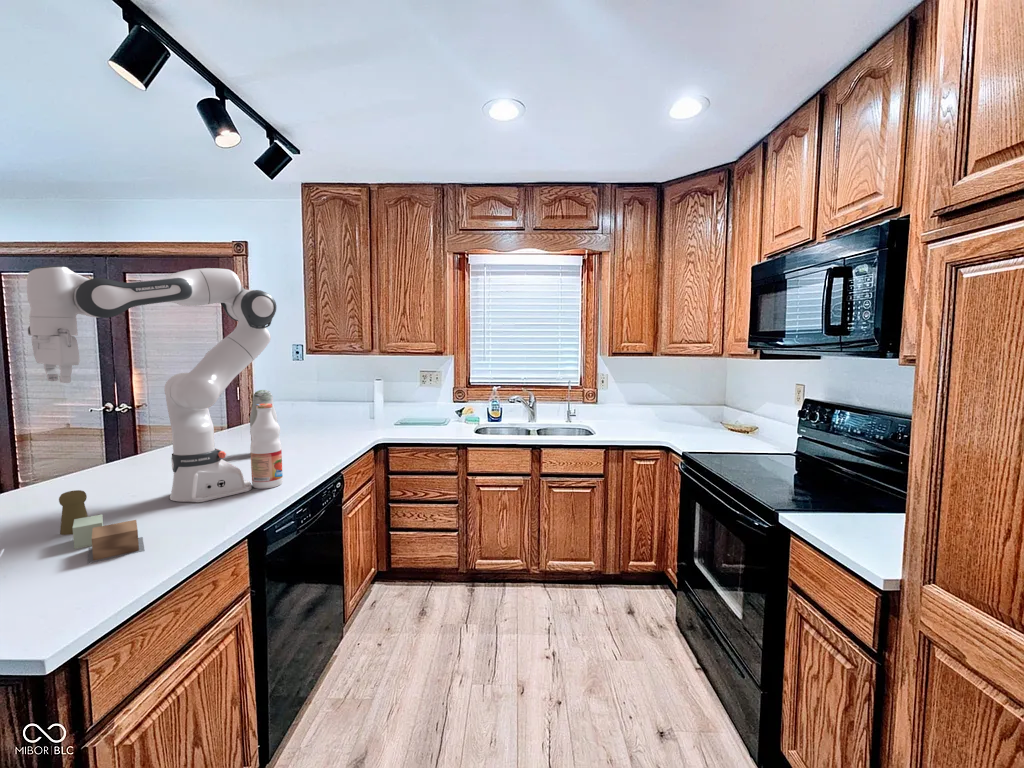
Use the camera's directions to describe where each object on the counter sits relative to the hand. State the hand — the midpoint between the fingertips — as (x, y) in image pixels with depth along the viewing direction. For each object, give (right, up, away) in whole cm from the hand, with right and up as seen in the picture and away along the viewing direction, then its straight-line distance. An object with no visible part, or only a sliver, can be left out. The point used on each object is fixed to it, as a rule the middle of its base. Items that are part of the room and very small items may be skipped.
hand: (59, 381), depth 124 cm
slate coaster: (+27, -40, -14) cm, 50 cm away
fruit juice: (+35, -36, +38) cm, 63 cm away
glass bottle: (+12, -31, +81) cm, 88 cm away
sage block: (+16, -40, -9) cm, 44 cm away
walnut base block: (+27, -39, -14) cm, 49 cm away
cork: (+7, -39, -3) cm, 40 cm away
